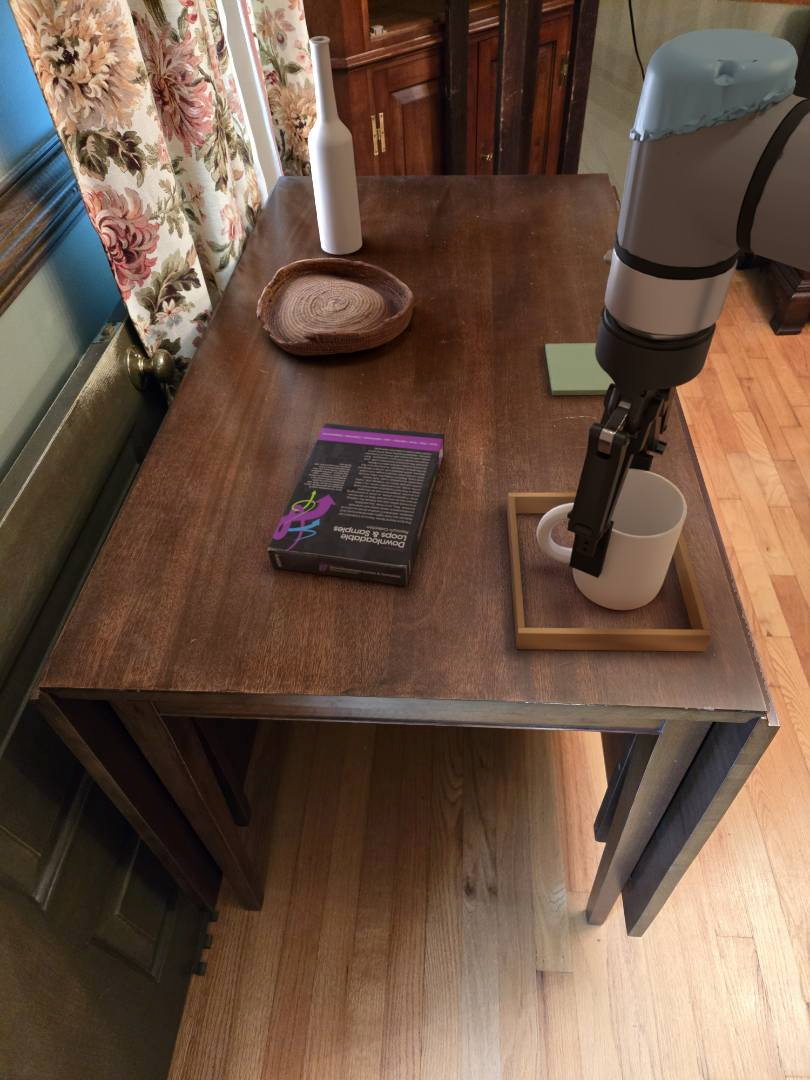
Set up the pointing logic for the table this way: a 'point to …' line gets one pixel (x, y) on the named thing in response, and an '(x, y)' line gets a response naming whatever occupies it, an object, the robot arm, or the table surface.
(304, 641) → the table surface
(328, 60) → the bottle
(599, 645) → the square wooden frame
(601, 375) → the plate
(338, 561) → the box
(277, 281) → the basket
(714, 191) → the robot arm
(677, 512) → the mug
